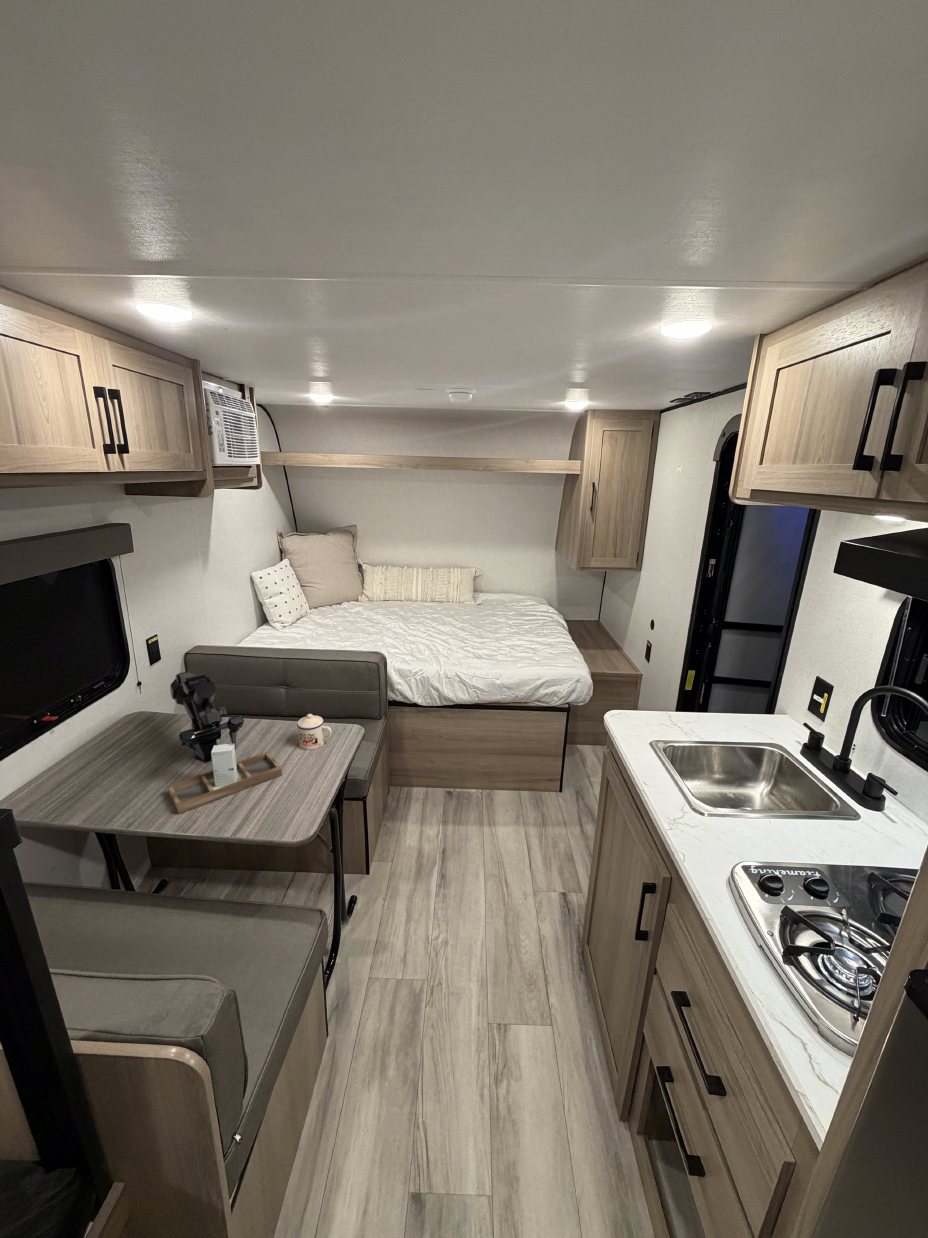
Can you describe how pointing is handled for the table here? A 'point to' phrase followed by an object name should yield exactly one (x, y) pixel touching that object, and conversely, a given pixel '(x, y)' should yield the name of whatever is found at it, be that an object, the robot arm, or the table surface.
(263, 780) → the three bay box
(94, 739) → the table surface
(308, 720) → the teacup with lid
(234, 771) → the skincare box
